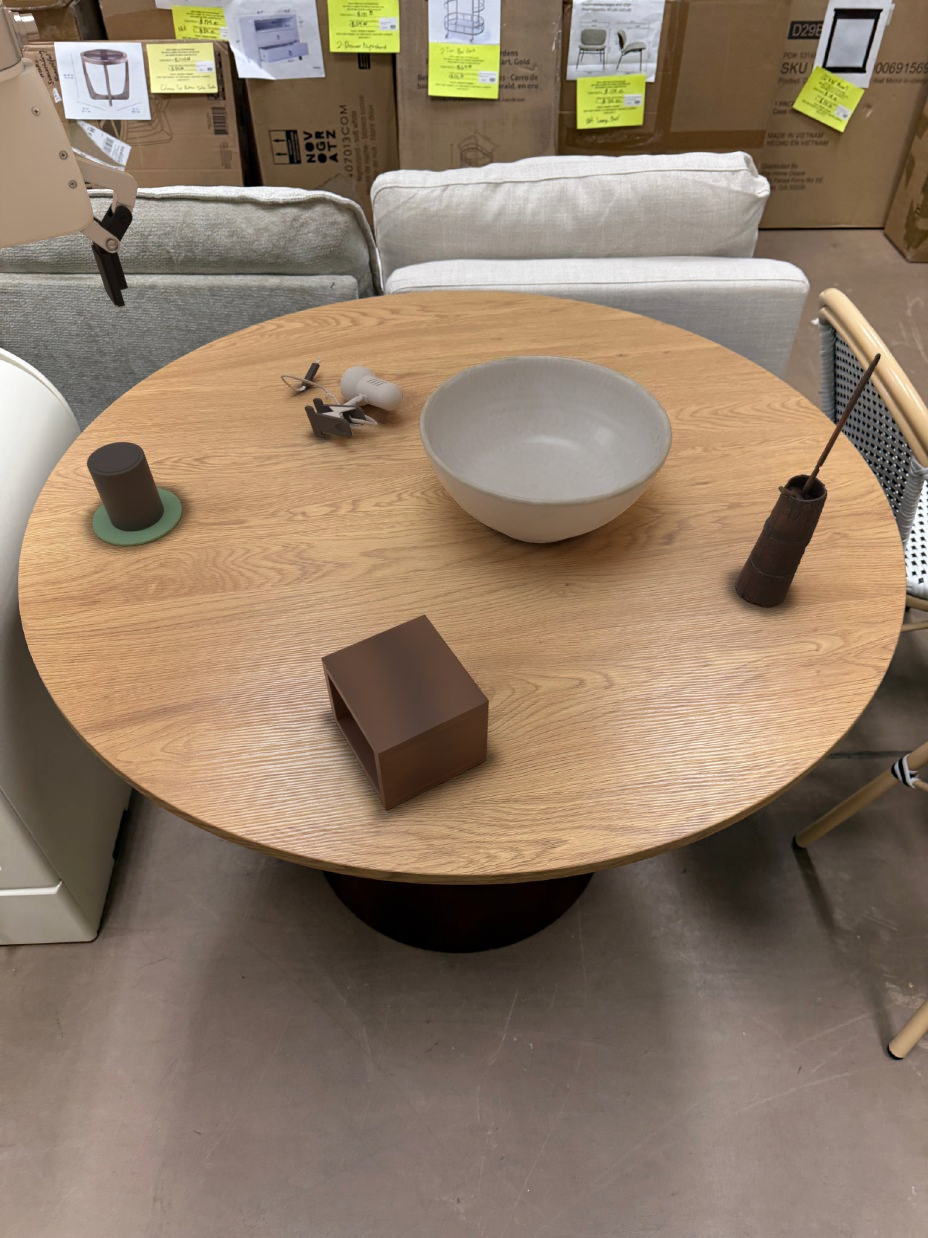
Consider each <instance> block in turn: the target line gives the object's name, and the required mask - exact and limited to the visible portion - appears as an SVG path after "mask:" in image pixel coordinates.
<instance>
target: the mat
mask: <svg viewBox="0 0 928 1238" xmlns="http://www.w3.org/2000/svg"><path fill="white" fill-rule="evenodd" d="M157 490H158V493H159V496H160V499H161V501H162V504H163V507H164V513H163V516H162V517H161V519H160V520H159V521H158V522H157V523H155V524H154V525H152V526H151V527H149V528H146V529H143V530H139V531H122V530H119V529H117V528H116V527H114V526H113V525H112V523H111V521H110V519H109V516H108V514H107V512H106V509H105V507H104V505H103V503H102V504H101V505H100V506H98V508H97V509H96V511H95V513H94V515H93V517H92V523H91V524H92V529H93V532H94V533H95V535H96V536H97V537H98V538H99V539H100V540H102V541H104V542H105V543H108V544H109V545H114V546H120V547H133V546H139V545H143V544H148V543H151V542H153V541H157V540H158V539H160V538H162V537H163V536H165V535H167V534H168V533H169V532H171V531H172V530H173V529H175V527H176V526H177V525H178V523H179V522H180V520H181V518H182V515H183V505H182V503H181V500H180V498H178V497H177V495H176V494H174V493H173V492H172V491H169V490H166V489H164V488H159V487H157Z"/></svg>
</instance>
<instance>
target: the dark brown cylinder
mask: <svg viewBox="0 0 928 1238" xmlns="http://www.w3.org/2000/svg"><path fill="white" fill-rule="evenodd" d="M86 467H87V470H88V472H89V474H90V477H91V479H92V481H93V484H94V486H95V488H96V491H97V493H98V495H99V497H100V500H101V502H102V504H103V505H104V507H105V509H106V512H107V514H108V516H109V519H110V521H111V523H112V525H113V526H114V527H116V528H117V529H119V530H122V531H139V530H143V529H146V528H149V527H151V526H152V525H154V524H155V523H157V522H158V521H159V520H160V519H161V517H162V516H163V513H164V507H163V504H162V501H161V499H160V496H159V493H158V490H157V488H158V487H157V484H156V481H155V479H154V477H153V474H152V471H151V468H150V465H149V462H148V459H147V457H146V453H145V451H144V449H143V448H142V447H141V446H140V445H139V444H136V443H134V442H130V441H116V442H111V443H108V444H105V445H102V446H100V447H98V448H97V449H95V450H94V451H93V452H92V453H91V454H90V455H89V457H87V460H86Z"/></svg>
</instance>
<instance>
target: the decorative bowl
mask: <svg viewBox="0 0 928 1238" xmlns="http://www.w3.org/2000/svg"><path fill="white" fill-rule="evenodd" d="M418 423H419V435H420V440H421V444H422V447H423V451H424V453H425V456H426V457H427V460H428V462H429V464H430V466H431V469H432V471H433V473H434V474H435V476H436V478H437V479H438V481H439V482H440V484H441V485H442V487H443V488H444V489H445V491H446V492H447V494H448V495H449V496H450V497H451V498H452V499H453V500H454V502H455V503H456V504H458V506H460V507H461V508H462V510H463V511H465V512H466V513H467V514H468V515H470V516H471V517H472V518H474V519H475V520H477V521H478V522H480V523H481V524H483V525H485V526H487V527H489V528H491V529H493V530H495V531H497V532H500V533H502V534H504V535H506V536H508V537H510V538H512V539H515V540H518V541H522V542H526V543H532V544H533V543H535V544H547V543H555V542H559V541H563V540H566V539H569V538H574V537H577V536H582V535H584V534H587V533H589V532H592V531H594V530H597V529H600V528H601V527H602V526H605V525H606V524H608V523H610V522H611V521H614V520H615V519H617V517H619V516H620V515H622V514H623V513H624V512H626V511H627V510H629V508H630V507H631V506H632V505H634V504H635V503H636V502H637V501H638V500H639V499H640V498H641V497H642V495H643V494H644V493H645V492H646V491H647V490H648V488H649V487H650V486H651V485H652V483H653V482H654V480H655V479H656V478H657V476H658V474H659V473H660V471H661V470H662V469H663V467H664V464H665V463H666V461H667V458H668V456H669V454H670V452H671V448H672V444H673V429H672V423H671V421H670V417H669V415H668V413H667V411H666V409H665V408H664V406H663V404H662V403H661V402H660V400H658V398H657V397H656V396H655V395H654V394H653V393H652V392H651V391H650V390H649V389H647V387H645V386H643V385H642V384H641V383H639V382H638V381H637V380H635V379H633V378H631V377H630V376H628V375H626V374H624V373H622V372H620V371H618V370H615V369H613V368H610V367H608V366H605V365H603V364H600V363H596V362H592V361H588V360H584V359H579V358H574V357H569V356H562V355H561V356H559V355H544V354H531V355H527V354H526V355H515V356H507V357H501V358H495V359H492V360H488V361H484V362H481V363H478V364H474V365H472V366H469V367H467V368H465V369H463V370H460V371H459V372H457V373H455V374H453V375H452V376H450V377H449V378H447V379H446V380H445V381H443V382H442V383H440V384H439V385H438V386H437V387H436V388H435V389H434V390H433V391H432V392H431V393H430V395H429V396H428V398H427V399H426V401H425V403H424V405H423V407H422V409H421V412H420V417H419V422H418Z"/></svg>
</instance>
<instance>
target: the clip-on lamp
mask: <svg viewBox="0 0 928 1238" xmlns="http://www.w3.org/2000/svg"><path fill="white" fill-rule="evenodd" d="M321 363H322V360H321V359H317V360H316V361H315V362H312V363H311V364H310V367H308V370H307V372H306V374H305V376H304V378H302V377H299V376H295V375H291V374H287V373H286V374H285V373H282V374H280V376H279V377H280V379H281V381H282V382H283V383H284V384H285V385H287V386H288V387H289V388H291V389H292V390H293V391H297V392H302V391H305V390H306V389H307V388H310V386H311V385H312V386H314V387H317V388H319V389H321V390H323V392H325V393H326V394H325V395H324V398H325V399H326V400H328V399H329V398H331V399H332V400H333V401H334V403H335V404H332V403H331V404H330V403H329V404H328V403H324V400H323V399H322V398H321V397H314V398H313V399H312V403H313V405H314V407H313V406H312V405H306V406H304V411H305V413H306V416H307V418H308V421H309V423H310V426H311V429H312V432H313V434H314V435H315V436H316V437H319V438H320V437H323V435H324V434H329V435H333V436H337V437H341V438H345V439H351V438H352V437H353V436H354V432H353V429H352V428H355V427H360V426H368V427H372V428H376V427H377V426H378V422H377V421H376V420H375V419H373V418H372V417H370V416H368V415H365V411H364V410H363V408H362V407H364V406H367V405H370V406H374V407H377V408H379V409H382V410H385V411H389V412H390V411H395V410H397V409H398V408H399V407H400V406H401V404H402V402H403V390H402V388H401V387H400V386H399V385H398V384H396V383H394V382H391V381H388V380H385V379H382V378H380V377H377V376H376V374H375V373H374V372H373V371H372V370H371V369H370V368H368V367H366V366H362V365H355V366H352V367H348V369H346V370H345V371H344V373H343V374H342V376H341V378H340V381H339V390H340V393H341V395H342V397H343V399H344V400H345V401H347V402H345V403H343V404H340V403H339V401H338V399H337V398H336V396H335V395H334V394H333V393H330V392H329V390H328V389H327V388H326V387H324V385H320V384H318V383H316V382H313V380H314V379H315V376H316V375H317V373H318V371H319V369H320V367H321V365H320V364H321ZM285 378H289V379H293V380H297V381H301V384H300V385H301V386H302V387H300V388H295V387H294V386H292V385H291V384H290V383H288V382H287V381H286V379H285Z"/></svg>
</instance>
